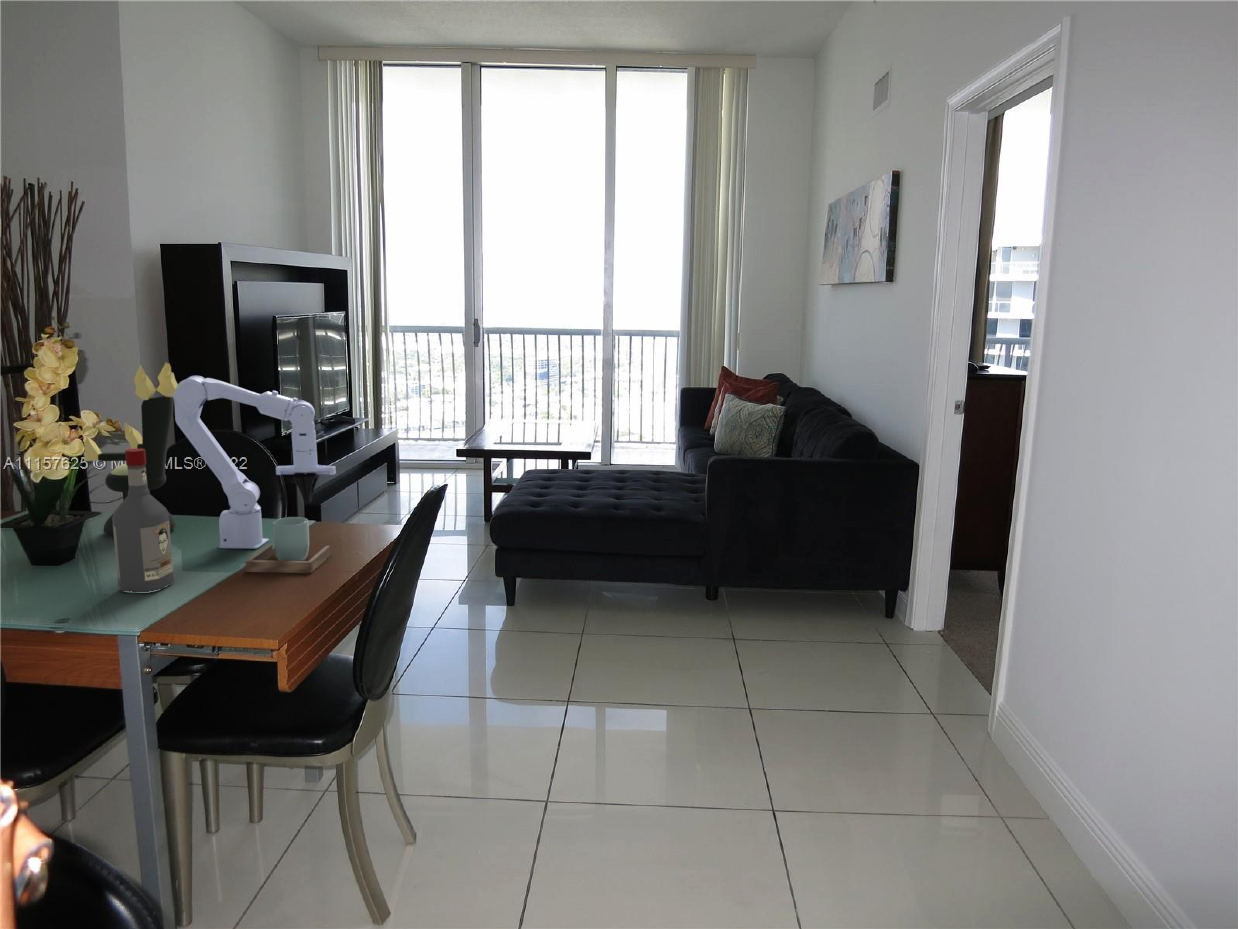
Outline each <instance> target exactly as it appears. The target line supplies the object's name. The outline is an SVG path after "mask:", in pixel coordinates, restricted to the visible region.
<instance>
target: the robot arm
mask: <svg viewBox="0 0 1238 929" xmlns="http://www.w3.org/2000/svg"><path fill="white" fill-rule="evenodd" d="M177 384H178V385H177V388H176V390H175V393H174V396H173V400H174V416H175V418H174V420H175V423H176V425H177V426H178V427H179V429H180V430H181V431H182V432H183V434H184V436H185V437H186V438H187V439H188V442H190V443H191V445H192V446H193V448H194V449H195V450H196V452H197V453H198V454H199V455H200V457H201V458H202V460H203V461H205V463H206V465H207V466H208V467H209V469H210V470H211V471H212V473H213V474H214V475H215V477H216V478H217V479H218V481H219V482H220V483H221V487H222V489H223V492H224V493H225V494H226V495H225V496H227V499H228V506H229V507H230V508H229V509H226V510H222V512H221V513H220V515H219V520H218V529H219V530H218V531H219V541H220V542H219V545H218V547H219V549H244V550H245V549H246V550H247V549H249V550H250V549H251V550H253V549H254V550H257V549H259V548H260V547H262V546H264V544H266V543H267V542H269V540H270V539H269V538H265V537H264V536H263V525H262V524H263V522H262V510H261V509H262V507H261V506H260V505H259V503H258V502H257V501H258V500H259V498H260V496H261V491H260V488H259V486H258V485H257V484H256V483H255V482H254V481H251V480H249V478H248V477H247V476H246V475H245V474H244V473H243V472H241V471H240V470H239V469H238V468H237V466H236V465H235V464H234V463H233V461H232V459H231V458H230V457H229V456H228V454H227V452H226V451H225V450H224V449H223V448H222V446H221V445H220V443H219V442H218V441H217V440H216V438H215V436H214V435H213V433H212V432H211V431H210V430H209V429H208V427H207V426H206V425H205V423H204V422H203V421H202V419H201V417H200V416H201V413H202V410H203V407H204V406H203V405H204V404H205V402H206V401H211V400H213V401H214V400H216V399H217V400H218V399H227V400H230V401H234V402H238V403H241V404H245V405H249V406H253V407H256V409H257V410H258V412H259V413H260V414H262V415H265V416H269V417H271V418H275V419H279V420H281V421H284V422H285V421H286V422H287V421H289V422H290V423H291V427H292V428H291V430H292V431H291V442H292V444H291V446H292V459H293V464H292V465H278V466H276V467H275V474H276V475H277V476H281V475H294V476H293V478H292V480H293V482H294V483H295V484H296V486H297V487H298V489H299V492H300V493H301V497H302V500H303V503H304V504H310V503H312V502H313V497H314V496H313V495H314V491H315V488H316V485H317V482H318V480H319V478H320V475H330V476H334V475H336V474H337V469H336V468H337V467H336V466H335V465H324V464H323V465H321V464H318V451H317V450H318V448H317V431H316V430H315V428H316V426H315V416H316V411H315V408H314V406H313V405H312V404H311V403H310V402H308V401H306V400H299V399H298V398H297V397H293V398H291V397H287V396H284V395H281V394H279V392H278V391H276V390H272V391H265V392H263V393H257V392H255V391H251V390H248V389H246V388H243V387H240V386H237V385H234V384H231V383H228V382H225V381H222V380H219V379H215V378H211V377H206V378H205V377H203V376H201V375H191V376H188V377H187V378H186V379H184V380H182V381H180V382H179V383H177ZM263 537H264V538H263Z"/></svg>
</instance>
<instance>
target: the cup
mask: <svg viewBox="0 0 1238 929" xmlns="http://www.w3.org/2000/svg"><path fill="white" fill-rule="evenodd" d="M309 526H310V525H309V519H308V518H306V517H301V516H288V517H282V518H278V519H276V520H273V522H272V532H273V533H272V534H273V546H274V552H275V556H276V558H277V561H306V558H307V557H308V555H309V549H310V528H309Z"/></svg>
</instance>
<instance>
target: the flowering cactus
mask: <svg viewBox="0 0 1238 929" xmlns="http://www.w3.org/2000/svg"><path fill="white" fill-rule="evenodd" d="M157 380H158V383H159V386H157V388H155V386H154V384H153V382H152V381H151V379H150V377H149V376H148V374H146V373H145V370H144V368H143V366H142V364H140V365H139V366H138V369H137V371H136V374H135V376H134V378H133V383H134V385H135V390H134V391H133V393H134V394H135V395H136V396H137V397H138V398H140V399H141V400H143V401H142V402H141V407H140V408H141V409H140V410H141V433H140V432H139V431H138V430H136V429H135V428H134V427H132V426H131V425H129V423H127V422H126V421H124V422H123V423H124V426H123V427H124V437H125V439H126V441H128V443H129V445H130V449H145V455H146V464H145V465H146V475H147V485H148V489H149V491H150V492H151V491H153V490H156V489H159V488H160V487H162V486H164V485H165V483H166V482H167V475H166V463H167V462H166V461H167V453H168V445H169V439H170V432H171V425H172V420H173V414H174V405H175V402H174V399H173V396H174V393H175V390H176V388H177V385H178V384H179V383H178V382H177V380H176V377H175V374H174V372H172V366H171V364H170V362H167V361H166V362H165V363H164V365H163V367H162V368H161V371H160V372H159V374H158V376H157ZM156 391H157V392H159V393H160V394H161V395H162V396H157V397H156V396H155V395H154V394H155V393H156ZM154 396H155V397H154ZM141 434H142V435H141ZM83 442H84V445H85V452H84V453H83V457H84V458H83V461H84V462H95V461H100V462H126V455H125V451H124V452H122V451H120V452H118V451H117V452H102V451H101V449H100V448H99V447H98V445H97V443H96V442H95V441H94V440H93V439H91V437H89V438H87V437H85V438H84V439H83ZM104 483H105V485H106V487H107V488H108V490H109V489H110V490H111V491H114V492H118V493H124V500H125V499H126V497H127V496H128V490H129V482H128V469H127V465H126V463H123V464H120V465H118V466H116V467H115V468H113V470H112V471H110V472H109V473H108V474H107V475H106V477H105V481H104ZM168 513H169V525H170V532H171V531H173V530H174V528H175V527H176V526H177V522H176V519H175V517H174V516H173V515H172V514H171V513H170V512H169V511H168ZM112 516H113V513H112V514H111V515H110V516H109V517H108V518H107V519H106V521H105V523H104V524H103V529H102V530H103V531H102V532H103V533H104V534H105V535H106V536H108V537H109V538H113V539H114V533H113V522H112Z"/></svg>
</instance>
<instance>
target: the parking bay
mask: <svg viewBox="0 0 1238 929" xmlns="http://www.w3.org/2000/svg"><path fill="white" fill-rule="evenodd" d="M273 546H274V545H273V544H267V545H266V546H264V547H263V548H262V549H261V550H259V551H258V552H256V553H255V554H253V555H252V556H251V557H249V558H248V559H246V560H245V561H244V563H245V565H244V567H245V572H246V573H282V574H283V573H288V574H289V573H290V574H291V573H293V574H313V572H314V571H316V570H317V569H318V568H319V567H320V566H321V565H323V564H324V562H325V561H327V560H328V559H329V558H330V557H331V556H330V555H331V545H325V546H324V547H323V548H322V549H321V550H319V551H318V552H317V553H316V554H315V555H314V556H312V557H311V558H310V559H309V560H303V561H279V560H269V559H270V557H272V556H274V548H273ZM329 556H330V557H329ZM327 558H328V559H327ZM316 568H317V569H316ZM315 569H316V570H315Z"/></svg>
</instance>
